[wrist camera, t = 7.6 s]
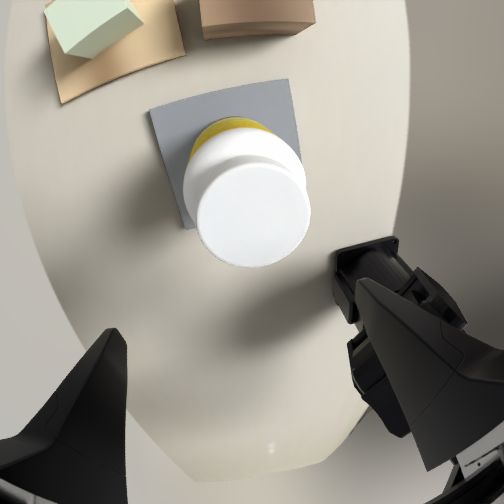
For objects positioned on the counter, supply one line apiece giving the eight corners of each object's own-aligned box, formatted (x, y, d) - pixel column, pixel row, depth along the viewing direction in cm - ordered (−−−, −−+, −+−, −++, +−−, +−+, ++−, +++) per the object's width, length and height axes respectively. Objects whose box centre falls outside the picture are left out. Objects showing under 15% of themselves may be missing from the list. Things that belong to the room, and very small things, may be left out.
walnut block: (289, -12, 12) (307, -33, 8) (295, 35, 14) (315, 22, 11) (198, -8, 11) (196, -31, 8) (203, 40, 14) (202, 26, 10)
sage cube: (121, -13, 10) (102, -34, 6) (144, 23, 12) (127, 7, 8) (71, 21, 10) (43, 11, 7) (92, 58, 12) (64, 53, 9)
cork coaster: (164, -44, 9) (163, -48, 8) (185, 55, 14) (184, 53, 13) (49, 6, 9) (45, 5, 8) (65, 102, 14) (61, 103, 13)
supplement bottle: (175, 156, 17) (141, 220, 9) (236, 98, 16) (264, 102, 7) (231, 208, 20) (249, 304, 11) (290, 158, 18) (357, 220, 10)
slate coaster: (285, 79, 16) (288, 78, 15) (304, 198, 21) (306, 202, 20) (151, 109, 16) (149, 109, 15) (186, 226, 20) (185, 230, 20)
